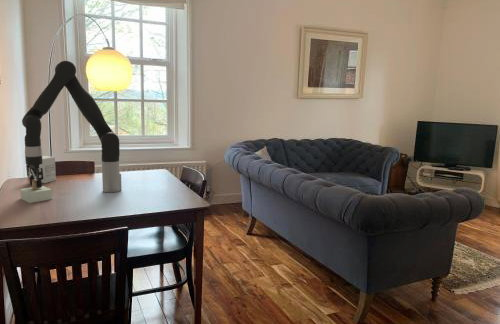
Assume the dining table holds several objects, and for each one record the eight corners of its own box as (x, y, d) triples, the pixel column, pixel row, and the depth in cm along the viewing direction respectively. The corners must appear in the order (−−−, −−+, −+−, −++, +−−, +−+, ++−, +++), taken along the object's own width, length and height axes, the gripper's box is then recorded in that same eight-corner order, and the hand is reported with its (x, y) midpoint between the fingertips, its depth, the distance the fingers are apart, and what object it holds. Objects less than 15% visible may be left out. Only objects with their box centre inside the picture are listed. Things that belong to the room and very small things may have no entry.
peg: (38, 197, 199) (37, 178, 197) (40, 198, 197) (39, 179, 195) (32, 198, 197) (30, 179, 195) (34, 199, 195) (33, 180, 193)
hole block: (43, 194, 204) (42, 185, 203) (52, 198, 197) (51, 189, 196) (20, 198, 196) (20, 189, 195) (29, 203, 189) (28, 193, 188)
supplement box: (33, 181, 232) (31, 157, 230) (45, 179, 241) (43, 155, 238) (44, 183, 230) (43, 158, 227) (56, 180, 238) (55, 156, 235)
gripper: (47, 155, 191) (49, 187, 194) (36, 152, 200) (38, 182, 203) (31, 157, 185) (33, 190, 188) (20, 153, 194) (22, 185, 197)
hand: (35, 186), depth 196 cm, fingers open, 8 cm apart
